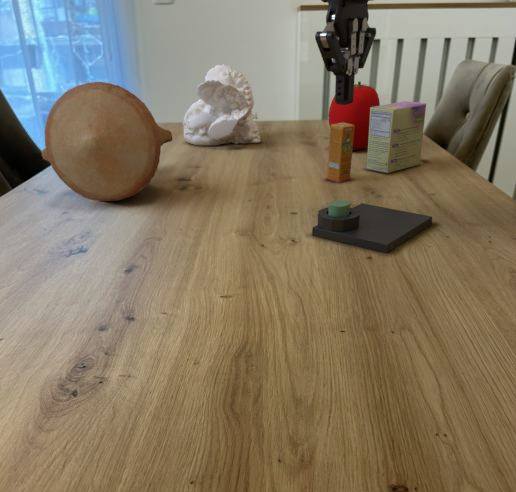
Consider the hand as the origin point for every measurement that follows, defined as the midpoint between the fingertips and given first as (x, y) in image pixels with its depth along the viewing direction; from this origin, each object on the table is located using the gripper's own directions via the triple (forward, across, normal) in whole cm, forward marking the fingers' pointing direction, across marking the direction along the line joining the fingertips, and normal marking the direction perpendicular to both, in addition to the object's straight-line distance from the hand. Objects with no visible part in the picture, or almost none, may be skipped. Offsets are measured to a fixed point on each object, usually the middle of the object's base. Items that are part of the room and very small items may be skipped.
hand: (344, 103), depth 80 cm
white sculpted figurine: (+16, +32, +53) cm, 64 cm away
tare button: (+14, -8, -5) cm, 16 cm away
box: (+16, +31, +6) cm, 36 cm away
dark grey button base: (+16, -4, -8) cm, 19 cm away
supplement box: (+16, +17, +10) cm, 26 cm away
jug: (+16, -9, +42) cm, 46 cm away
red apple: (+16, +43, +22) cm, 51 cm away
